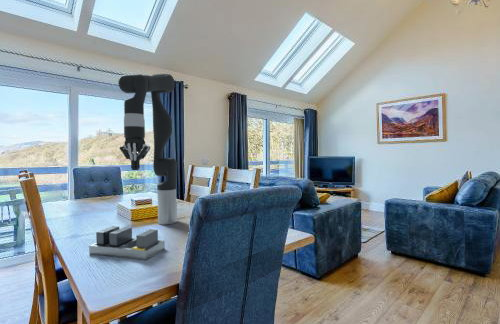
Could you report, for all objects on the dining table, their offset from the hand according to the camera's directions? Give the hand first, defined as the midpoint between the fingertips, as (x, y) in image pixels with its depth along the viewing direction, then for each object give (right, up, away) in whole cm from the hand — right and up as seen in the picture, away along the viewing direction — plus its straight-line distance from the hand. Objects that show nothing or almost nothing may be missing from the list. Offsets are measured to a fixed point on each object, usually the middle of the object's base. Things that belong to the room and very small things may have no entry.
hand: (135, 170), depth 108 cm
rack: (+1, -29, -9) cm, 31 cm away
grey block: (+9, -29, -11) cm, 32 cm away
